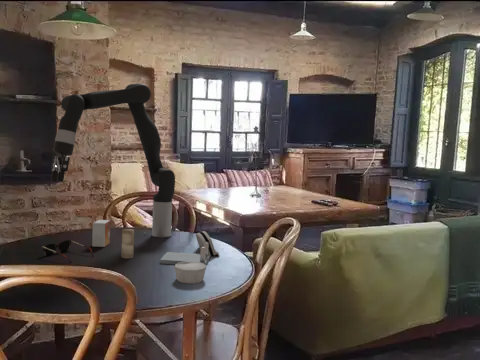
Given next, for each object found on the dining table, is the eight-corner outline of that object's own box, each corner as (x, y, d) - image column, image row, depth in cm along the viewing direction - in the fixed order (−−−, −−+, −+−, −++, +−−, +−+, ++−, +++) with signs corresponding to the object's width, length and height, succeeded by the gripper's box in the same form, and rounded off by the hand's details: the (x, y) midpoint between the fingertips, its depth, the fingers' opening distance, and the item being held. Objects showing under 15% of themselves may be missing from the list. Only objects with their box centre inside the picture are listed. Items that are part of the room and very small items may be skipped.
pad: (167, 255, 194) (167, 239, 193) (209, 258, 193) (210, 241, 192) (160, 263, 182) (160, 245, 181) (205, 266, 181) (206, 249, 180)
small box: (104, 247, 202) (105, 223, 201) (91, 246, 202) (92, 222, 201) (110, 243, 210) (110, 220, 209) (97, 242, 210) (98, 219, 209)
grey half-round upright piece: (219, 256, 196) (213, 235, 194) (209, 260, 195) (202, 239, 193) (209, 246, 212) (203, 226, 210) (200, 250, 211) (193, 230, 208)
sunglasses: (70, 250, 196) (71, 238, 195) (96, 259, 187) (97, 247, 187) (41, 257, 184) (42, 244, 183) (68, 267, 176) (69, 254, 175)
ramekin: (190, 273, 172) (190, 259, 171) (212, 280, 165) (212, 265, 164) (167, 279, 163) (167, 264, 163) (189, 287, 156) (190, 272, 156)
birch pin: (123, 254, 191) (124, 228, 190) (134, 255, 191) (135, 229, 190) (119, 257, 187) (120, 231, 186) (131, 258, 186) (132, 231, 185)
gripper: (79, 143, 185) (71, 183, 183) (68, 145, 197) (60, 183, 195) (60, 139, 181) (52, 179, 179) (50, 141, 192) (42, 179, 190)
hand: (56, 181), depth 187 cm, fingers open, 8 cm apart
